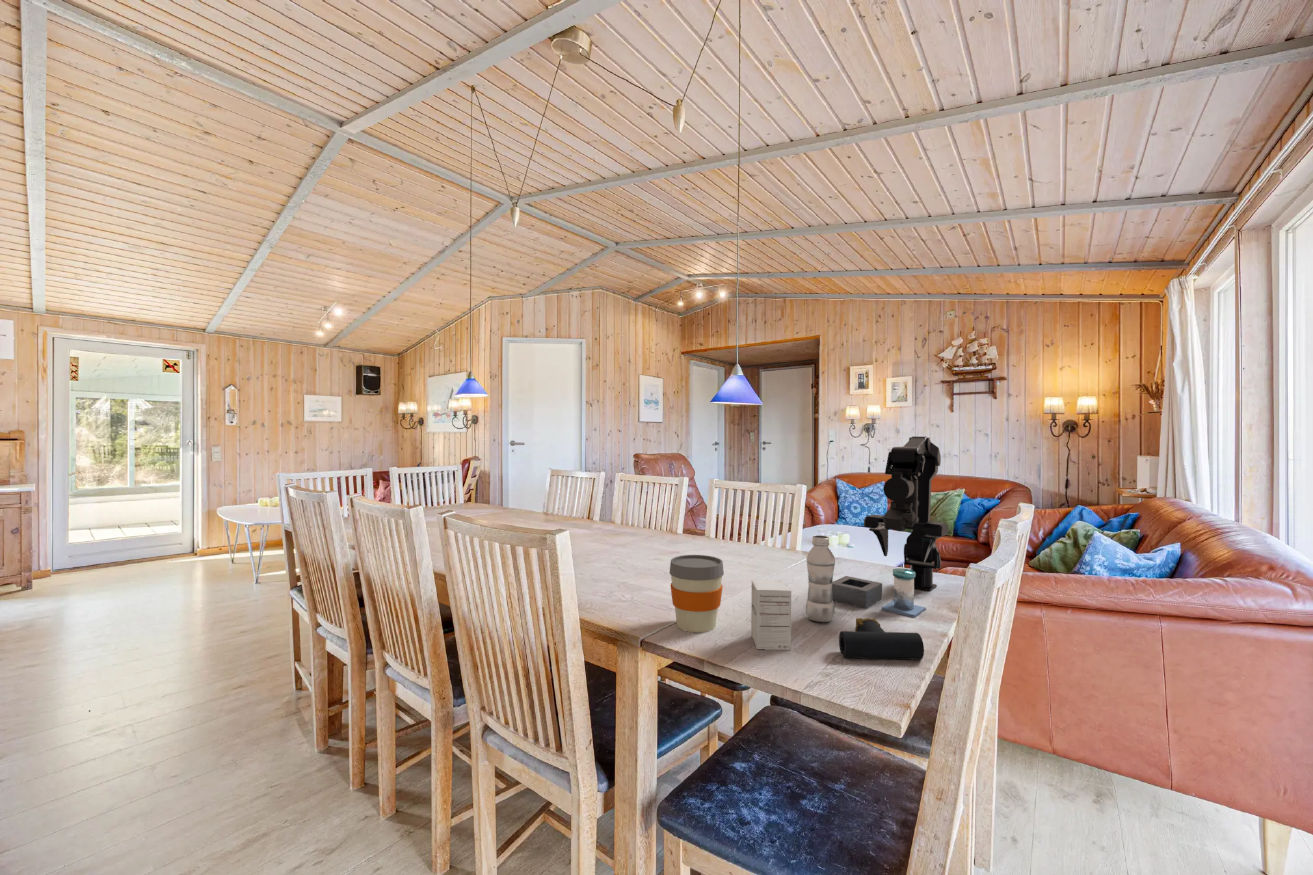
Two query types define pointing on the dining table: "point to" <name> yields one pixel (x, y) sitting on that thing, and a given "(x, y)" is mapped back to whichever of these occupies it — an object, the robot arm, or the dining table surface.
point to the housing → (856, 592)
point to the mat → (911, 613)
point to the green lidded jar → (904, 588)
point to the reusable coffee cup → (696, 591)
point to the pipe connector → (879, 642)
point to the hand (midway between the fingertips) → (904, 559)
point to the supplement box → (771, 615)
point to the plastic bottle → (820, 581)
